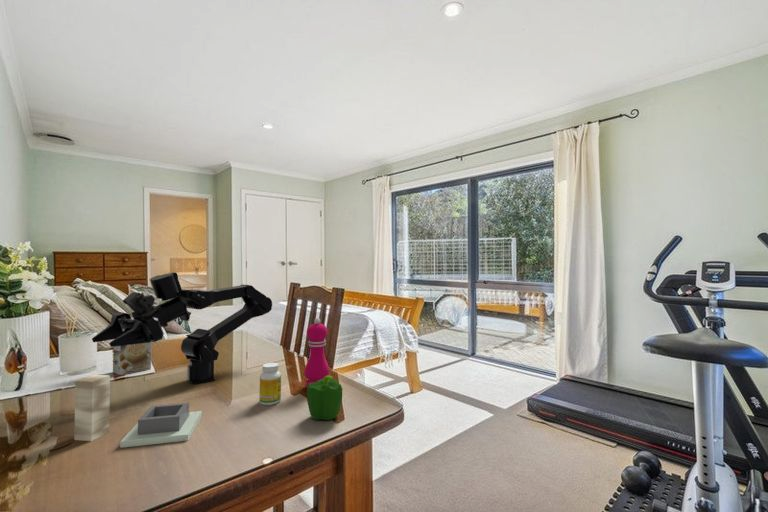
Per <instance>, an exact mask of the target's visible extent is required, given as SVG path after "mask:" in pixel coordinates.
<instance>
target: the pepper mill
mask: <svg viewBox="0 0 768 512" xmlns="http://www.w3.org/2000/svg"><path fill="white" fill-rule="evenodd" d="M313 322H314V323H313V324H312V323H311V325H309V326H308V328H307V330H306V336H307V338H308V339H309V340H308V346H309V351H310V352H309V353H310V354H309V358H308V360H307V362H306V365H305V366H304V373H303V374H304V376H305V378H306V379H307V380H306V381H305V388H306V389H307V387H308V384H309V383H313V382H316V383H317V381H319V380H321V379H324V377H325V376H327V375H329V376H330V367H329V363H328V361H327V359H326V356H325V347H326V344H327V343H326V342H327V340H326V337H327V336H328V331H329V330H328V328H327V326H326V325H325V324H323V323H321V319H320V318H319V317H317V318H314V321H313Z"/></svg>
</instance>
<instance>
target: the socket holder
mask: <svg viewBox="0 0 768 512" xmlns="http://www.w3.org/2000/svg"><path fill="white" fill-rule="evenodd" d="M202 412H203V411H202V410H199V411H198V410H197V411H190V402H181V403H179V402H178V403H167V404H156V405H151V406H150V407H149V408H148V409H147V410H146V411H145V412H144V413H143V414H142V415H141V416H140V417H139V419H137V423H136V424H135V425H134V426H133V427H132V429H130V431H129V432H128V433H127V434H126V435H125V436H124V437H123V438H122V439H121V440H120V441H119V442H120V443H119V444H120V446H119V447H120V449H122V448H129V447H130V448H131V447H139V446H140V447H141V446H148V445H157V444H158V445H159V444H166V443H167V444H168V443H176V442H177V443H178V442H187V441H189V439H190V438H191V436H192V434H193V433H194V430H195V429H196V427H197V426H198V424H199V422H200V421H201V419H202V416H203V415H202V414H203V413H202Z"/></svg>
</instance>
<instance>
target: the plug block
mask: <svg viewBox="0 0 768 512" xmlns="http://www.w3.org/2000/svg"><path fill="white" fill-rule="evenodd" d="M74 386H75V388H74V390H75V391H74V430H73V431H74V433H73V434H74V436H73V437H74V439H73V440H74V441H82V442H83V441H86V442H93V441H95V440H97V439H99V438H101V437H103V436H105V435H106V434H108V433H109V432H110V410H111V409H110V408H111V407H110V400H111V398H110V396H111V394H110V392H111V375H108V374H106V375H104V374H91V375H88V376H86V377H83V378H80V379H76V380H75V384H74Z"/></svg>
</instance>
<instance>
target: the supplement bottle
mask: <svg viewBox="0 0 768 512" xmlns="http://www.w3.org/2000/svg"><path fill="white" fill-rule="evenodd" d="M279 367H280V366H279V363H278V362H267V363H264V364H263V365H262V369H261V370H262V372H261V373H260V374H259V398H258V401H259V403H260V404H261V405H264V406H273V405H276V404H279V402H281V399H282V397H281V396H282V374H281V372H280V371H279V369H280V368H279Z"/></svg>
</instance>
